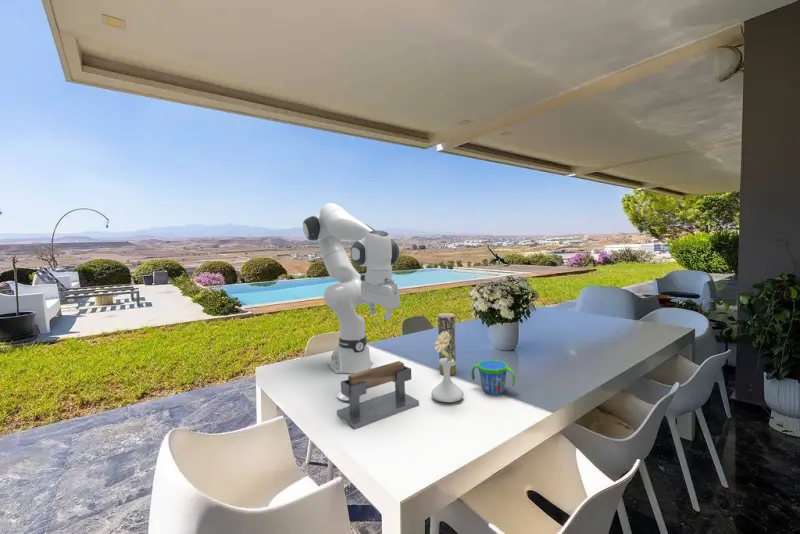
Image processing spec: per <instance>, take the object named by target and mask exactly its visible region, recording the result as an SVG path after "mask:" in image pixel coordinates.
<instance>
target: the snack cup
mask: <svg viewBox="0 0 800 534" xmlns="http://www.w3.org/2000/svg"><path fill="white" fill-rule="evenodd" d="M476 368H477V370H478V372H479V377H480V383H481V388H482V391H483V392H484V393H485V394H486V395H491V396H499V395H501V394H504V391H505V385H506V380H507V379H506V377H507V372H510V374H511V377H512V383H511V384H512V387H514V385H515V383H516V375H515V372H514V370H513V369H512V368H511V367H509V366H508V364H507V363H506V362H504V361H501V360H496V359H490V360H489V359H488V360H482V361H479V362H478V363H476V364H475V365H474V366H473V367H472V369H471V373H470V375H471V380H472V381H474V380H475V378H476V377H475V371H474V370H475V369H476Z"/></svg>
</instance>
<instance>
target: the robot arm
mask: <svg viewBox="0 0 800 534" xmlns="http://www.w3.org/2000/svg"><path fill="white" fill-rule="evenodd" d="M302 231H303V234H304V235H305V237H306V239H307V240H309V241H318V240H319V241H318V249H319V252H320V256H321V259H322V261H323V264H324V266H325V268H326V271H327V274H328V275H329V277H330V278H331V279H333V280H334V281H337V282H338V283H335V284H332V285H330V286H328V287H326V288H325V289H324V294H323V299H324V303H325V305H326V306H327V307H328V308H329V309H331V311H333V312H334V313H335V315H336V316H337V318H338V319H337V320H338V325H339V333H340V334H339V337H338V345H337V347H336V348H335V349H334V350H333V351H332V354H331V356H330V357H331V360H328V361H327V365H328V364H329V365H330V366H329V365H328V366H329V367H330V369H331V370H332V369H333V370H332V371H333V372H334V373H335V374H354V373H358V372H361V371H365V370H368V369H371V366H372V365H373V364H374V362H373V361H372V359H371V355H370V353H371V352H370V347H369V346H368V345H367V343H368V341H367V335H366V323H365V322H366V321H365V319H364V318H363V316H361V315H360V314H358V313H357V312H356V310H355V307H357V306H361V305H365V304H367V306H368V309H369V313H370V315H372V316H373V315H376V314H377V309H376V307H375V305H378V306H381V307H384V309H385V313H384V314H383V319H384V320H387V321H389V320H390V321H391V319H392V318H391V315H392V312H393V310H394V309H397V308H398V309H399V307H400V305H401V298H400V290H399V289H400V288H399V287H398V284H397V283H396V281H395V280H394V279H393V267H392V266H393V265H394V264H395V263H396V262H397V260H398V258H399V256H400V248H399V245H398V244H397V243H396V241H395V240H394V239H392V238H391V235H390V233H389V232H387V231H385V230H375V229H374V228H373V227H372V226H370V225H368V224H366V223H364V222H363V221H361V220H360V219H357V218H356V217H354V216H353V215H352V214H350V213H349V212H348V211H347V210H346V209H345V208H343V207H342V206H340V205H339V204H337V203H334V202H328V203H326V204H323V205H322V207H321V208H320V211H319V214H317V215H311V216H309V217H307V218H305V219H304V220H303V222H302ZM341 240H345V241H347V240H349V241H355V242H354V243H353V244H352V246H351V247H350V258H349V256H348V254H347V252H346V249H345V248H344V247H345V246H344V245H343V244H342V241H341ZM352 262H353V263H354V265H356V266H358V267H366V272H364V273H362V274H360V273H359V272H358V271H357V270H356V269H355V267H354V265H353V264H352Z"/></svg>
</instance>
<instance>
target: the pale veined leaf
mask: <svg viewBox="0 0 800 534" xmlns="http://www.w3.org/2000/svg"><path fill="white" fill-rule="evenodd" d="M342 395H343V394H342V393H341V390H340V391H338V393H337V395H336V396H337V398H338V399H339V400H342V401H344V400H343V399H344V398H343V397H342V398H340V396H342ZM346 401H347V402H348V401H349V399H348V400H347V399H346Z"/></svg>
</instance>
